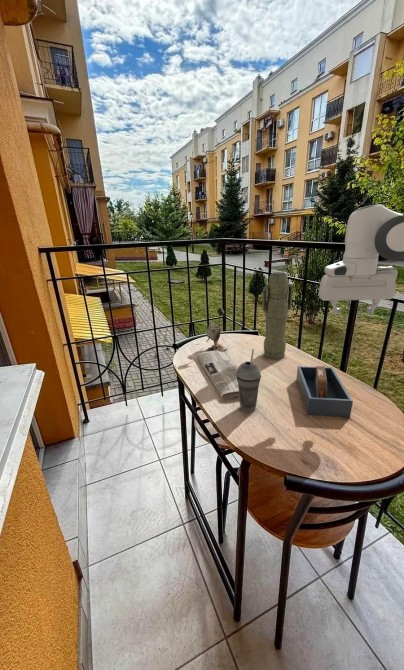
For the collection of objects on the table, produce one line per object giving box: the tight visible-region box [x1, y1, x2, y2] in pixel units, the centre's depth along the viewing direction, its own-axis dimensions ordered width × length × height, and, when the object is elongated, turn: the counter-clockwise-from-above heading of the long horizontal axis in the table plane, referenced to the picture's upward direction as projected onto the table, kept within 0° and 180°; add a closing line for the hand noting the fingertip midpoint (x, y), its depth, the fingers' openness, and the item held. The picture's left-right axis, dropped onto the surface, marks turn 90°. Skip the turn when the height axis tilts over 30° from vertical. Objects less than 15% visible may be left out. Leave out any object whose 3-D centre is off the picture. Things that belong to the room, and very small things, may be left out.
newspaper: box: [196, 350, 239, 400], centre depth 106 cm, size 35×12×4 cm, turn 15°
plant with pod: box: [205, 306, 228, 352], centre depth 126 cm, size 8×11×20 cm
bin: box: [296, 365, 354, 418], centre depth 89 cm, size 12×21×6 cm, turn 171°
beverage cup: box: [236, 348, 262, 414], centre depth 82 cm, size 7×7×20 cm
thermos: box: [261, 271, 294, 361], centre depth 115 cm, size 9×12×35 cm
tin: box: [315, 365, 327, 398], centre depth 89 cm, size 15×3×8 cm, turn 161°
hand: (352, 313), depth 85 cm, fingers open, 8 cm apart
